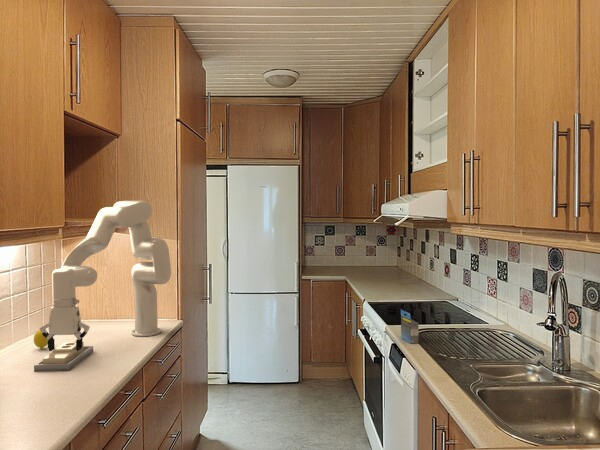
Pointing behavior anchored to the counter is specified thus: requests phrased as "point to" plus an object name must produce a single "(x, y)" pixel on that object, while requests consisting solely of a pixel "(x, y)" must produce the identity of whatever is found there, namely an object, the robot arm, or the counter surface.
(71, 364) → the grey rectangular tray
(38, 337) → the lemon
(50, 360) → the electrical outlet
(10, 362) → the counter surface
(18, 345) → the counter surface
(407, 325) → the label tape cartridge
